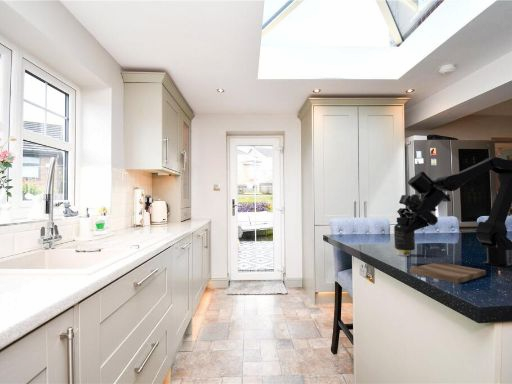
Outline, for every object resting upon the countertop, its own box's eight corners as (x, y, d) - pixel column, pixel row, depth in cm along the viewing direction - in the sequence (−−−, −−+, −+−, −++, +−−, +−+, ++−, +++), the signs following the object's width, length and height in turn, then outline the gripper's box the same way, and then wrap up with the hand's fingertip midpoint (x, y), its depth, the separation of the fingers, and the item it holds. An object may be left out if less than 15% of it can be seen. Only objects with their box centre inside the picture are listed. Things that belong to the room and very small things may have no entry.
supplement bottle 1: (419, 250, 99) (418, 217, 100) (400, 251, 99) (399, 218, 99) (408, 247, 106) (407, 216, 106) (391, 247, 106) (390, 217, 106)
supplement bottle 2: (405, 256, 116) (405, 232, 116) (393, 254, 120) (392, 231, 121) (412, 255, 119) (411, 232, 119) (400, 253, 124) (399, 231, 124)
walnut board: (438, 266, 99) (438, 262, 99) (485, 274, 87) (485, 270, 87) (409, 272, 90) (409, 268, 90) (458, 283, 78) (457, 278, 78)
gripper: (401, 188, 113) (375, 215, 113) (427, 186, 94) (396, 218, 94) (421, 207, 112) (395, 234, 112) (451, 208, 93) (420, 240, 93)
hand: (400, 231), depth 103 cm, fingers closed on supplement bottle 1, 7 cm apart
